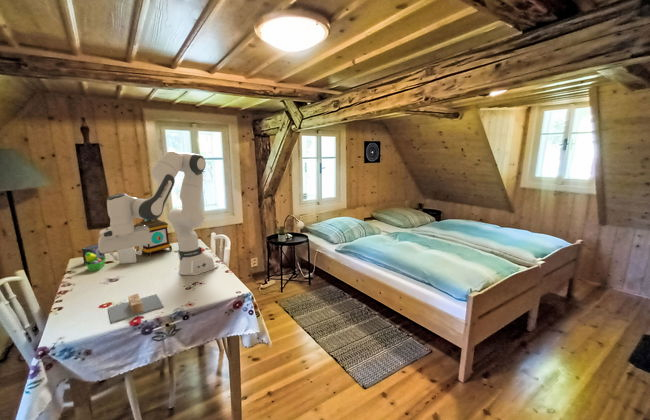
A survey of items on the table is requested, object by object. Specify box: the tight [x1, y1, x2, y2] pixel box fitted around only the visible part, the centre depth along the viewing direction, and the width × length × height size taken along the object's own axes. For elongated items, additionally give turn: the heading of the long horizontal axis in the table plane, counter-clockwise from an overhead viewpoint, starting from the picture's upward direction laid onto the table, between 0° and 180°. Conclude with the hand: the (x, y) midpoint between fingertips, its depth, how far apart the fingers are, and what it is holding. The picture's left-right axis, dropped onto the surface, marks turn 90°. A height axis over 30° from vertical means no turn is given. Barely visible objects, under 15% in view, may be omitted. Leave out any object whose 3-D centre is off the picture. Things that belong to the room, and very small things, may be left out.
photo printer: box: [116, 247, 138, 264], centre depth 194 cm, size 10×4×12 cm, turn 96°
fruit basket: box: [85, 252, 106, 272], centre depth 185 cm, size 11×9×11 cm
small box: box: [81, 243, 106, 264], centre depth 198 cm, size 11×6×10 cm, turn 168°
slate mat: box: [107, 293, 164, 324], centre depth 135 cm, size 20×16×1 cm
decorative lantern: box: [134, 218, 173, 258], centre depth 213 cm, size 20×20×30 cm
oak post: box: [127, 293, 143, 314], centre depth 134 cm, size 4×4×12 cm
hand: (127, 257), depth 137 cm, fingers open, 8 cm apart
